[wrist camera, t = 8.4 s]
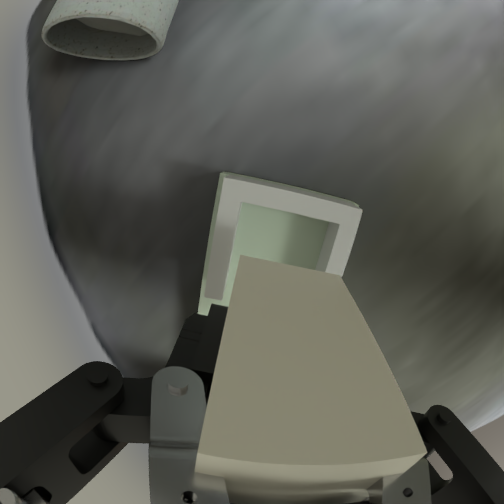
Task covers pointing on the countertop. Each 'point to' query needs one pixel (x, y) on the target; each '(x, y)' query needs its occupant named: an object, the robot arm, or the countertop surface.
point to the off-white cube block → (301, 394)
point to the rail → (273, 231)
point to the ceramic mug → (109, 28)
